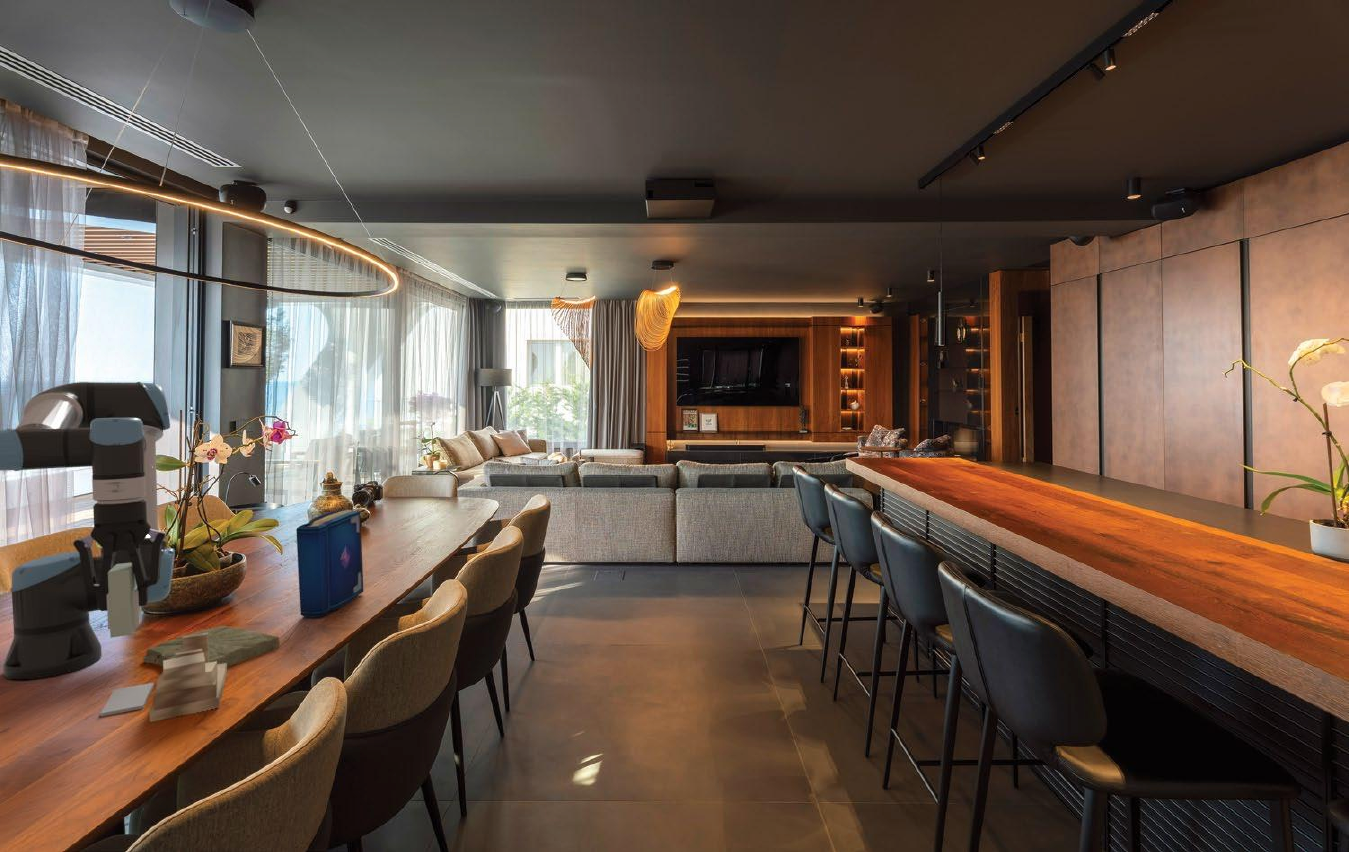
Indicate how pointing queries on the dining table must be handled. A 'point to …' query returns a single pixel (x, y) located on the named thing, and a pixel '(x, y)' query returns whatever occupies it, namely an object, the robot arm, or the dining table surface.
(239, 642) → the decorative tile
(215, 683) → the offcut bottom
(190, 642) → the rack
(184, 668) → the offcut top
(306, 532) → the book
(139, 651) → the dining table surface
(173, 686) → the block
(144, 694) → the felt mat
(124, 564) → the pale green block
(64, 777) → the dining table surface
